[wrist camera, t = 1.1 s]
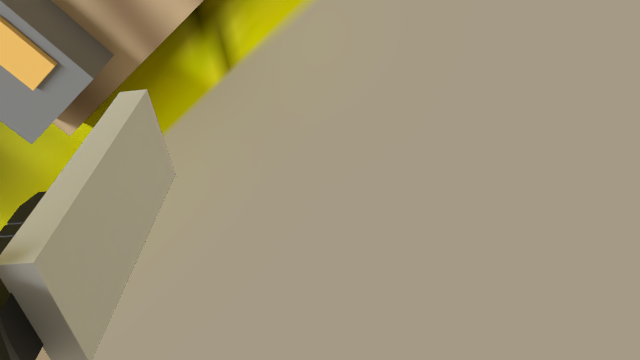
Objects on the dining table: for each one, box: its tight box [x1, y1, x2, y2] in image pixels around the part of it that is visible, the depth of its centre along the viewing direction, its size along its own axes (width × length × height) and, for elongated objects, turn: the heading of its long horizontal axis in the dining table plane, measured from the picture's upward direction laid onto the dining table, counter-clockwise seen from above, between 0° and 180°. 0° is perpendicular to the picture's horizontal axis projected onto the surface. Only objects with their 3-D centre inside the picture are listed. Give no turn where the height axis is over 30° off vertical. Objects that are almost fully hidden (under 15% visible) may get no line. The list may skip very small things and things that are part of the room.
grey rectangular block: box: [0, 0, 114, 144], centre depth 36 cm, size 7×8×4 cm
